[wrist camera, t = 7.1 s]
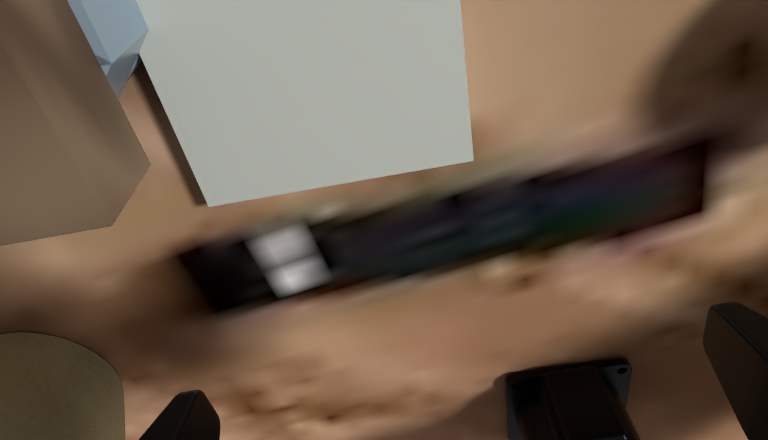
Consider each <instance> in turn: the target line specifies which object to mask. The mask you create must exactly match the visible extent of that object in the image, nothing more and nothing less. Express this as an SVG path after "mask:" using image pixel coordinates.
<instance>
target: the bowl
mask: <svg viewBox="0 0 768 440" xmlns="http://www.w3.org/2000/svg"><path fill="white" fill-rule="evenodd" d="M67 1H68V3H69V5H70V7H71V9H72V11H73V13H74V15H75V17H76V18H77V20H78V22H79V24H80V26H81V28H82V30H83V32H84V34H85V36H86V38H87V40H88V42H89V44H90V46H91V48H92V50H93V52H94V54H95V56H96V58H97V60H98V62H99V64H100V66H101V68H102V70H103V72H104V73H105V75H106V77H107V79H108V81H109V83H110V85H111V87H112V89H113V91H114V93H115V95H116V97H117V99H119V97H120V95H121V92H122V90H123V88H124V85H125V83H126V81H127V80H128V79H129V78H130V77H131V75H132V74H133V73H134V72H135V70H136V69H137V67H138V65H139V63H140V61H141V60H142V59H141V57H140V54H139V51H140V49H141V46H142V44H143V42H144V39H145V37H146V35H147V33H148V30H149V29H148V27H147V24H146V22H145V20H144V17H143V15H142V13H141V10H140V8H139V6H138V3H137V1H136V0H67Z"/></svg>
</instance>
